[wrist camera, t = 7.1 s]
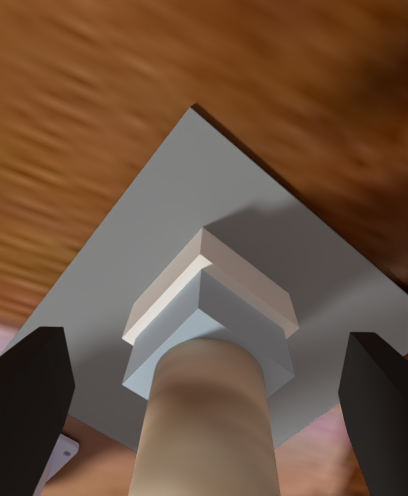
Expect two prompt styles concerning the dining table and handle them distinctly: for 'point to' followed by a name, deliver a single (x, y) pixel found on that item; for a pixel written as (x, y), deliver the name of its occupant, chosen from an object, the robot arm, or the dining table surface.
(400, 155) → the dining table surface
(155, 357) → the top block
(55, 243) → the dining table surface
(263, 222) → the slate mat
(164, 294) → the base block
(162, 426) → the beech cylinder
